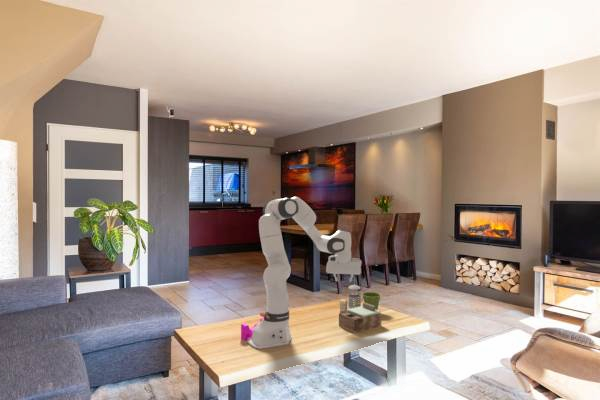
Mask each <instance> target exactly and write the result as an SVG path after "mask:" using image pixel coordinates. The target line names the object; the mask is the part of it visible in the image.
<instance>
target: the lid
mask: <svg viewBox="0 0 600 400" xmlns="http://www.w3.org/2000/svg"><path fill="white" fill-rule="evenodd" d="M347 312H350V313H353V314H356V315H358V316H361V317H367V316H371V315H375V314H379V313H381V310H379V309H378V310H376V306H374V305H371V304H368V303H364V302H363V303H362V305H361V306H360V307H356V308H351V309H347ZM381 314H382V313H381Z"/></svg>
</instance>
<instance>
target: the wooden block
mask: <svg viewBox="0 0 600 400" xmlns="http://www.w3.org/2000/svg"><path fill="white" fill-rule="evenodd" d="M347 308H348V299H345V298H340V300H339V313H344V312H348V311H347Z"/></svg>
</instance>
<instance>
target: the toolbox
mask: <svg viewBox="0 0 600 400" xmlns="http://www.w3.org/2000/svg"><path fill="white" fill-rule="evenodd" d="M380 326H382V313H379V314H375V315H371V316H367V317H361V316H358V315H356V314H353V313H350V312H348V311H347V312H344V313H340V312H339V313H338V327H340V328H342V329H345V330H347V331H349V332H352V333H354V334H356V333H359V332H363V331H367V330H370V329H374V328H378V327H380Z"/></svg>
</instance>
